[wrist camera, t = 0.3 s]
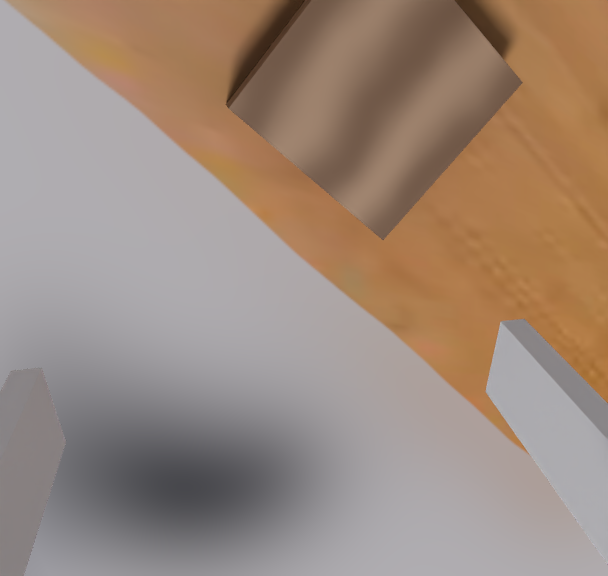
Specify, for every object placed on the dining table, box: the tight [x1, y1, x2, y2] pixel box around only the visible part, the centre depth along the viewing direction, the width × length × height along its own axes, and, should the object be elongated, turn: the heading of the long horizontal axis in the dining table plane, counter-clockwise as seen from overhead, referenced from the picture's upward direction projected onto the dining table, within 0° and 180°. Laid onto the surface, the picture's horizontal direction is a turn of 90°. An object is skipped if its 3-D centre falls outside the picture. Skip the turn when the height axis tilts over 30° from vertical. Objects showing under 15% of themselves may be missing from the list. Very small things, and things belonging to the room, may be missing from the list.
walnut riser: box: [226, 0, 523, 240], centre depth 35 cm, size 14×14×4 cm
